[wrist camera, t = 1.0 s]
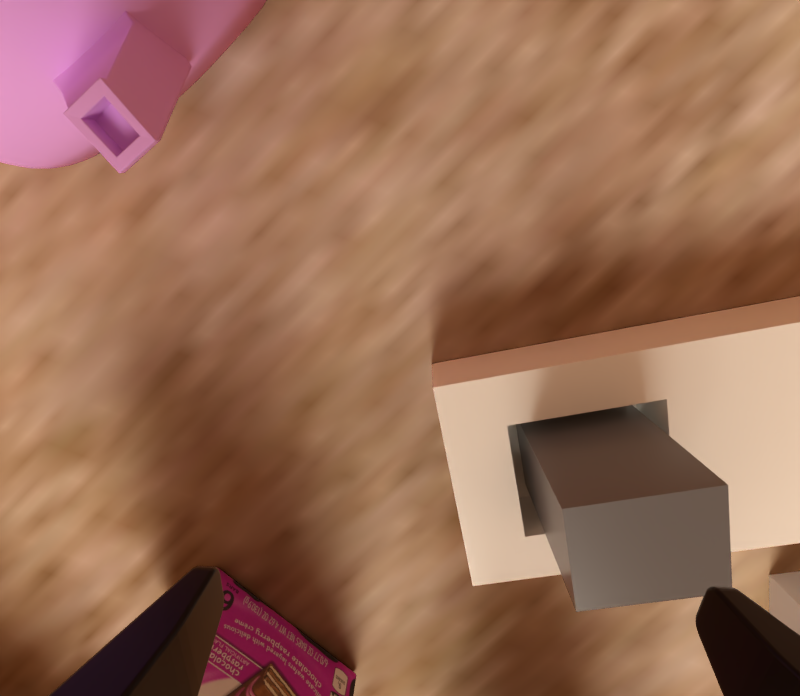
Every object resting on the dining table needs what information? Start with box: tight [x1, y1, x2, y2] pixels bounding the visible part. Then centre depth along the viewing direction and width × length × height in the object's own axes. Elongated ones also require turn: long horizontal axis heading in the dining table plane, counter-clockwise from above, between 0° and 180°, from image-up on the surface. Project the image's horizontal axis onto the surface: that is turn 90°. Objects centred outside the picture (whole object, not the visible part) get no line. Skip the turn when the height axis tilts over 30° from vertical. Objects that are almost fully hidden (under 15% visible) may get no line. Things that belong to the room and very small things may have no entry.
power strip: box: [432, 296, 800, 586], centre depth 20 cm, size 10×24×4 cm, turn 102°
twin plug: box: [516, 405, 732, 612], centre depth 18 cm, size 4×5×8 cm
